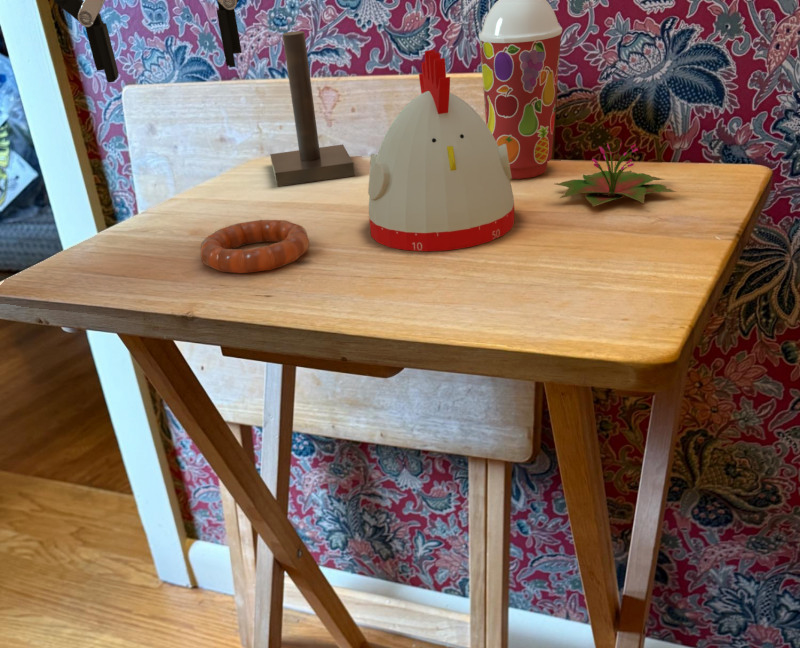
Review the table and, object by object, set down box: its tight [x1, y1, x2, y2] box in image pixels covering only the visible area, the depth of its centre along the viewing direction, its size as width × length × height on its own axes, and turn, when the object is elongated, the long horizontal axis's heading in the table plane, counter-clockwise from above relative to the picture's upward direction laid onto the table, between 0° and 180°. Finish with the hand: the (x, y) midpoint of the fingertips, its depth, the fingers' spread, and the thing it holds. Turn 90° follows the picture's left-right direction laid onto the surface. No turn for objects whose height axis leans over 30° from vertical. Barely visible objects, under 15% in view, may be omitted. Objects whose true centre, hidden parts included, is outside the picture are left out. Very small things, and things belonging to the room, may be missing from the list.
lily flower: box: [555, 141, 678, 208], centre depth 88 cm, size 12×12×5 cm
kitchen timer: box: [367, 49, 515, 252], centre depth 81 cm, size 14×14×15 cm
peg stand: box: [269, 30, 356, 187], centre depth 101 cm, size 9×9×14 cm
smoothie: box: [477, 0, 563, 180], centre depth 92 cm, size 8×8×20 cm
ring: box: [200, 219, 310, 274], centre depth 83 cm, size 10×10×2 cm
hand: (172, 71), depth 73 cm, fingers open, 9 cm apart
